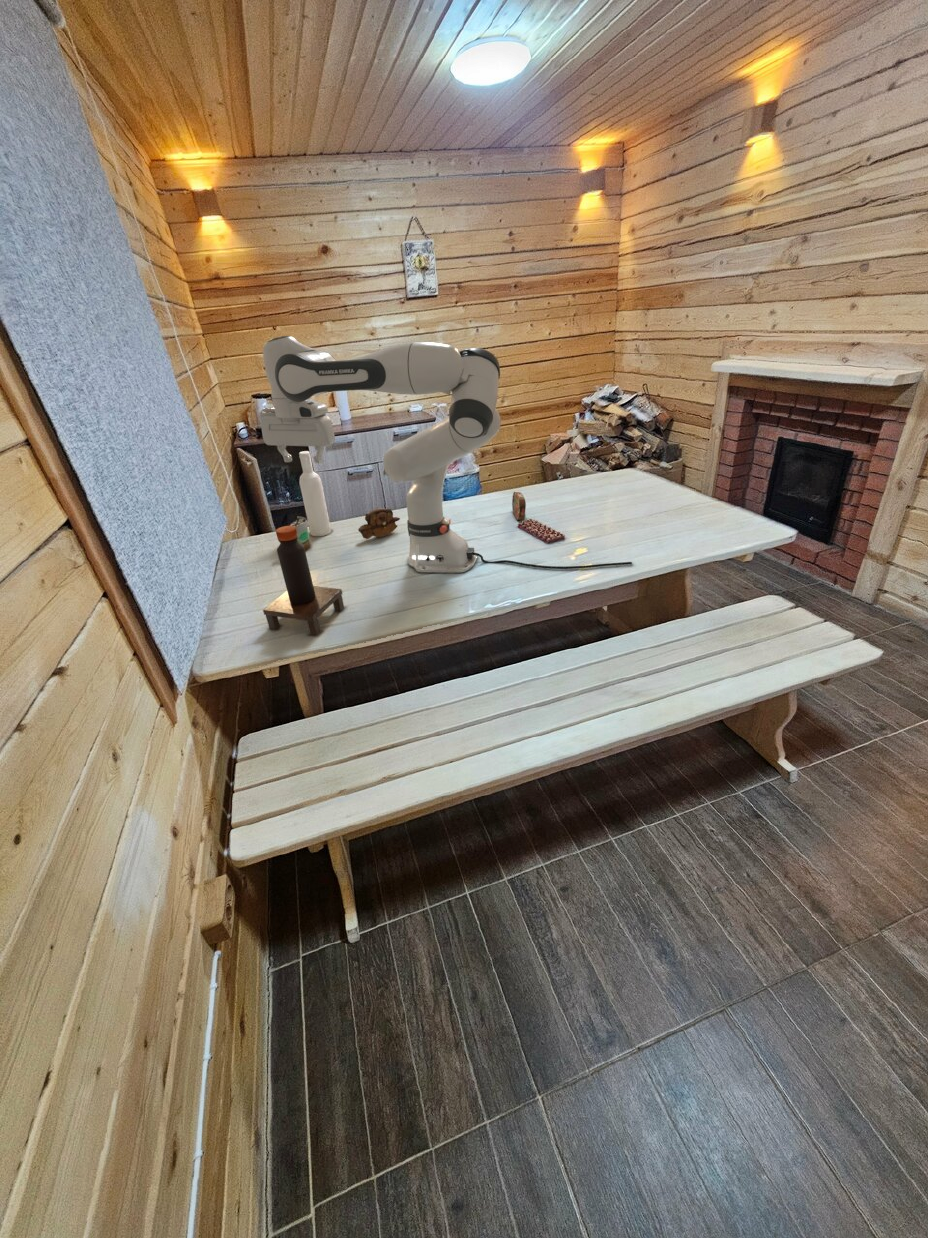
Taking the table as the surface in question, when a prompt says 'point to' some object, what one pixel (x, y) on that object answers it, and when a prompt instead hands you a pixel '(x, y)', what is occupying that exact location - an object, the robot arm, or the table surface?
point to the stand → (304, 608)
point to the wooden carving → (378, 523)
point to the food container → (302, 531)
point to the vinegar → (294, 566)
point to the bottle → (313, 498)
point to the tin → (518, 505)
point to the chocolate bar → (541, 531)
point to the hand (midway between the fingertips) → (303, 462)
